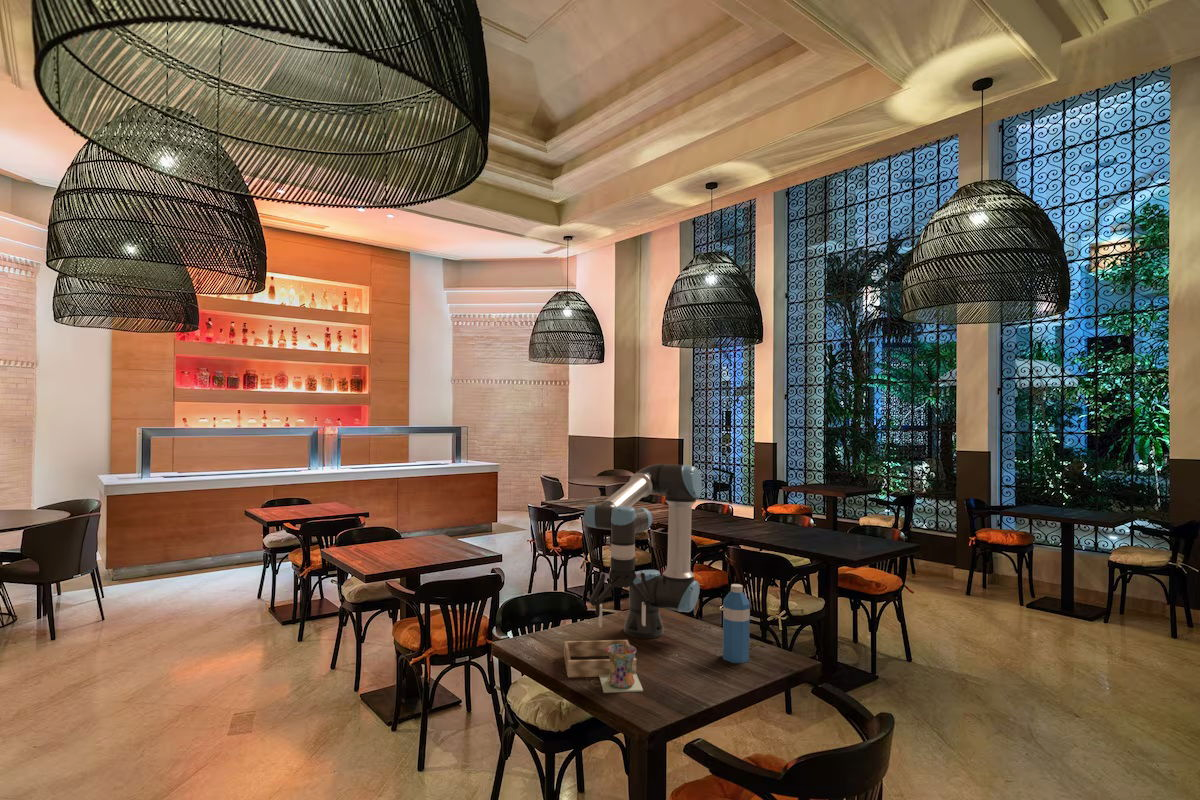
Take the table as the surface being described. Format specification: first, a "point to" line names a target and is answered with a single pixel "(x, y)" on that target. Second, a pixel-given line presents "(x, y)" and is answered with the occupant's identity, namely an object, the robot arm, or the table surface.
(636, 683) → the mat
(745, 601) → the water bottle
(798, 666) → the table surface
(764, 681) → the table surface
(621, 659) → the mug
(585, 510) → the robot arm
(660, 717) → the table surface
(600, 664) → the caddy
